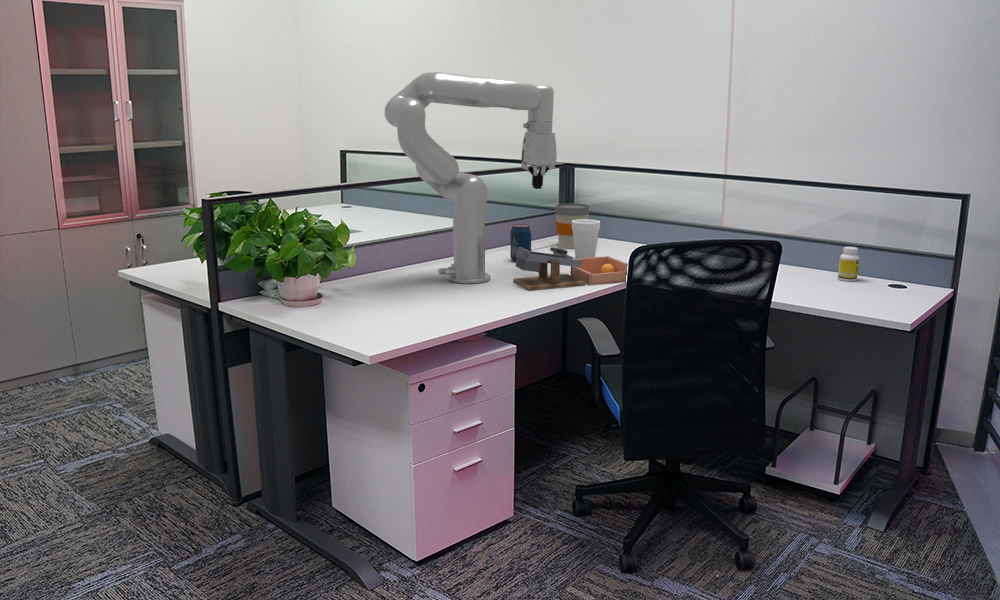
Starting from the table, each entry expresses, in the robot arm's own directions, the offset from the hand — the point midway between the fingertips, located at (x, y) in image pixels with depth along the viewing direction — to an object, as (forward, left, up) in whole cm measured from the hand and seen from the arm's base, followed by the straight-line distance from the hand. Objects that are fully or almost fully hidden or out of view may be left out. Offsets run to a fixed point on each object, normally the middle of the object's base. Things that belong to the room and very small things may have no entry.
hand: (537, 188), depth 255 cm
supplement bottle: (+83, -44, -27) cm, 98 cm away
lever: (-4, -12, -23) cm, 26 cm away
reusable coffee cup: (+29, +35, -27) cm, 52 cm away
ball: (+16, -16, -24) cm, 33 cm away
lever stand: (-3, -16, -26) cm, 31 cm away
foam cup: (+23, +12, -27) cm, 37 cm away
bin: (+13, -16, -26) cm, 34 cm away
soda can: (+2, +18, -27) cm, 32 cm away
